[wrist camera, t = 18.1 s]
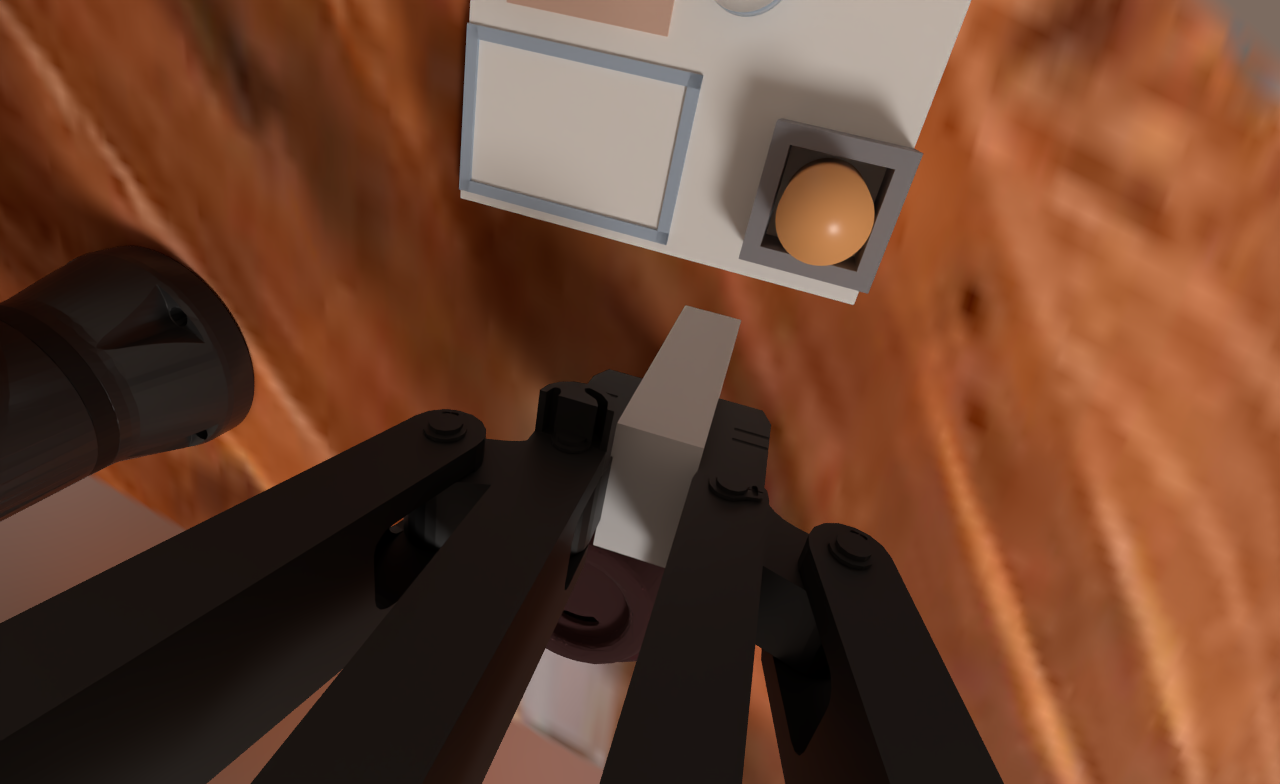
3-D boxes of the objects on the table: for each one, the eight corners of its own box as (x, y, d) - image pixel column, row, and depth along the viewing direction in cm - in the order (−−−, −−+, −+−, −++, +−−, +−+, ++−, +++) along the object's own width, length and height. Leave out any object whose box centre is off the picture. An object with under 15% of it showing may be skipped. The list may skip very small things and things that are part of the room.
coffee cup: (643, 323, 35) (533, 455, 22) (776, 428, 36) (746, 619, 22) (558, 432, 40) (427, 593, 27) (676, 523, 40) (604, 725, 27)
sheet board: (467, 196, 35) (429, 206, 31) (488, -169, 27) (440, -206, 24) (853, 300, 31) (856, 324, 28) (999, -83, 24) (1027, -112, 20)
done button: (773, 230, 30) (764, 252, 26) (797, 149, 28) (792, 158, 24) (850, 249, 29) (854, 276, 25) (880, 168, 27) (889, 181, 23)
